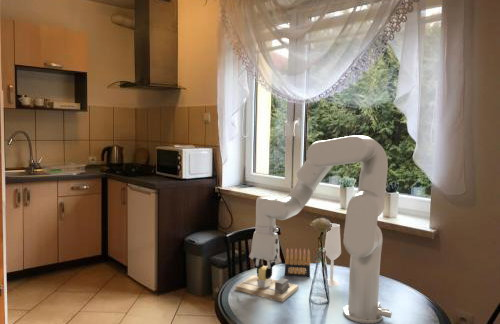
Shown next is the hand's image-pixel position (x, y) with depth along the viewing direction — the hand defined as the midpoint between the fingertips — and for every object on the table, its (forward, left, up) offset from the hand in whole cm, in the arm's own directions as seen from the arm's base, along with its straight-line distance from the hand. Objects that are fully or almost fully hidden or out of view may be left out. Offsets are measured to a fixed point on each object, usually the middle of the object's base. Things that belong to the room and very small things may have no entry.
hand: (264, 276), depth 150 cm
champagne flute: (-19, -22, -6) cm, 30 cm away
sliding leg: (0, -2, -4) cm, 4 cm away
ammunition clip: (-4, -22, -6) cm, 23 cm away
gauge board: (0, -2, -6) cm, 6 cm away
